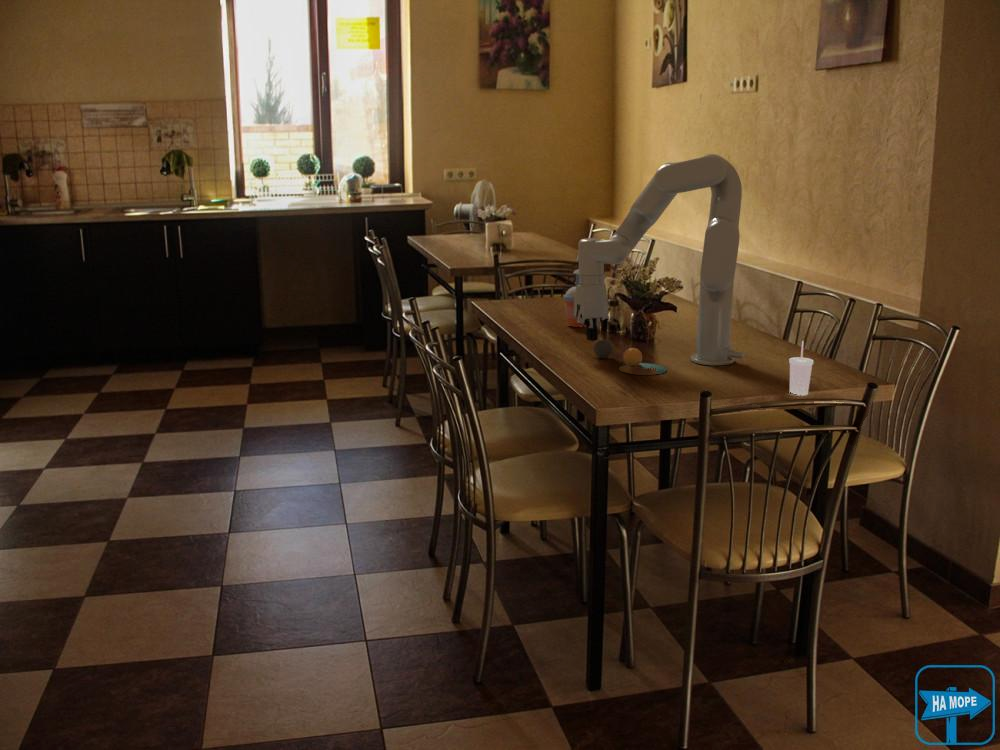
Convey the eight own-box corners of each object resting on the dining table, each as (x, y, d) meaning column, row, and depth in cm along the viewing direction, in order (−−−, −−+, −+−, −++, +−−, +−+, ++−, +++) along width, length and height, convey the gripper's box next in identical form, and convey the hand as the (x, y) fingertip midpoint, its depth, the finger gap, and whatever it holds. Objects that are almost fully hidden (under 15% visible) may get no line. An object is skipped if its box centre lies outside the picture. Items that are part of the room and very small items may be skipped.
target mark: (672, 366, 282) (673, 366, 282) (658, 377, 270) (658, 377, 270) (626, 361, 288) (626, 361, 288) (610, 372, 276) (611, 371, 276)
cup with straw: (587, 329, 333) (588, 276, 329) (561, 328, 335) (562, 276, 331) (590, 323, 342) (591, 273, 338) (564, 322, 344) (565, 272, 339)
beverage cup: (809, 397, 252) (814, 344, 248) (785, 394, 254) (789, 342, 250) (811, 391, 257) (816, 339, 254) (787, 389, 259) (791, 337, 256)
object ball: (638, 347, 285) (641, 365, 285) (619, 350, 285) (623, 369, 285) (641, 345, 280) (645, 364, 279) (623, 349, 279) (627, 367, 279)
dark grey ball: (610, 338, 295) (612, 356, 295) (592, 340, 295) (594, 358, 295) (612, 339, 289) (614, 357, 290) (593, 341, 289) (596, 360, 290)
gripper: (602, 276, 298) (603, 334, 303) (563, 281, 290) (565, 341, 295) (618, 278, 292) (619, 338, 297) (579, 284, 284) (580, 345, 289)
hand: (592, 339), depth 296 cm, fingers closed
